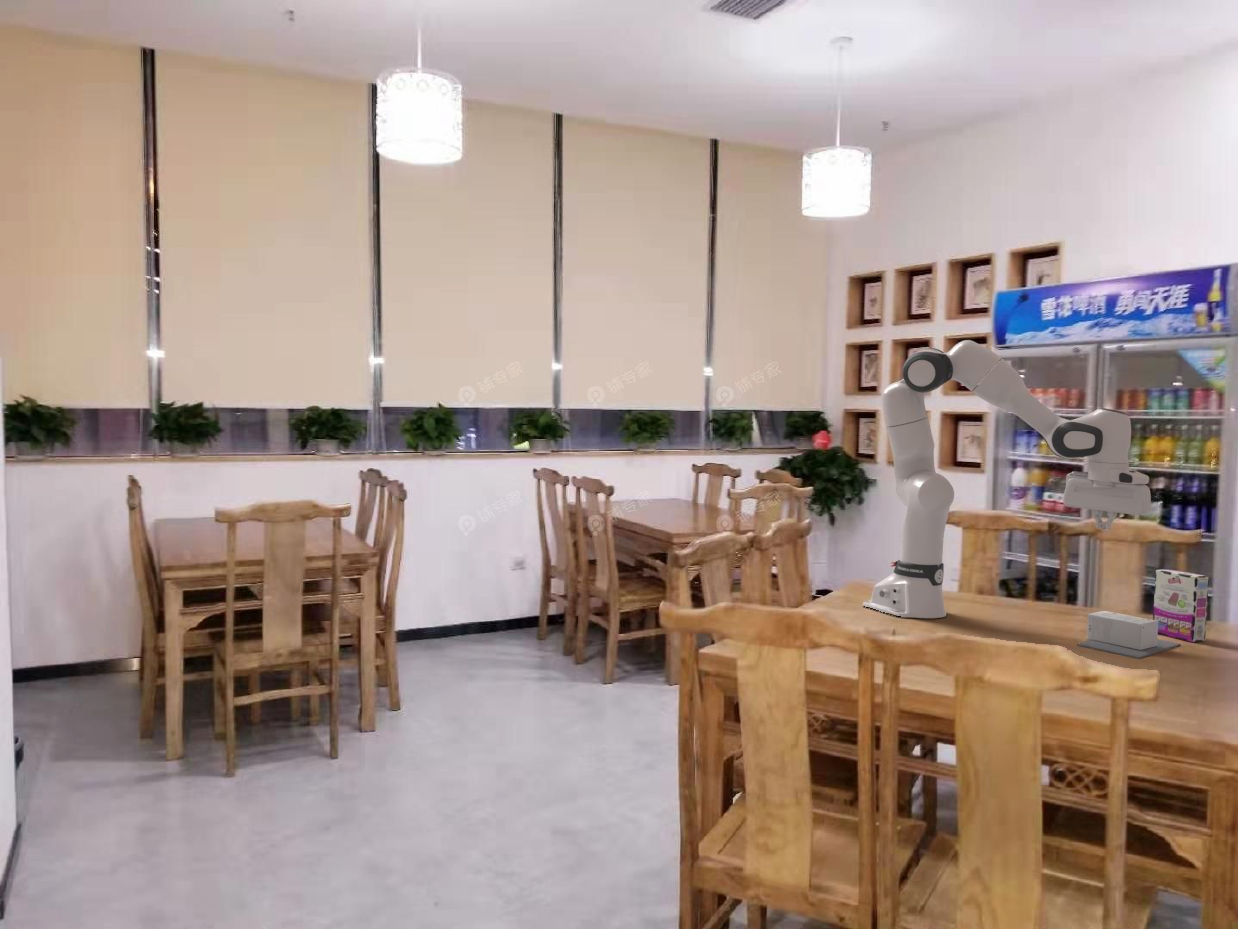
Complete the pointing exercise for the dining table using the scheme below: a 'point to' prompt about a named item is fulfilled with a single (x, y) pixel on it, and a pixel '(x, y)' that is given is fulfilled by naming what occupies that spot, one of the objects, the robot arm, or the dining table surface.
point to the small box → (1122, 630)
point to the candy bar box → (1181, 604)
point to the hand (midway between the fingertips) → (1103, 529)
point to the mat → (1127, 651)
